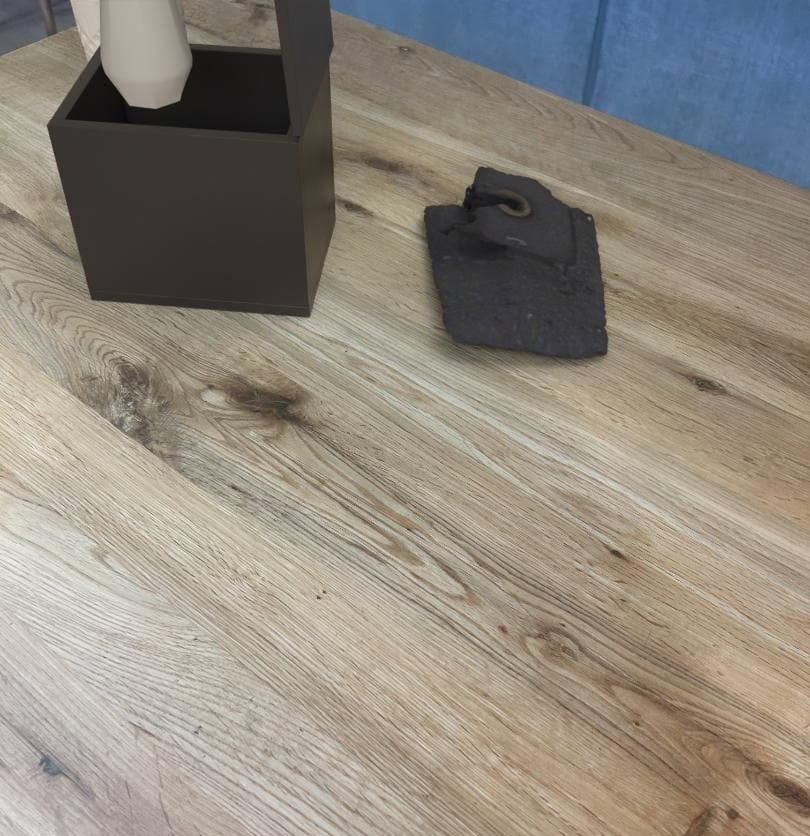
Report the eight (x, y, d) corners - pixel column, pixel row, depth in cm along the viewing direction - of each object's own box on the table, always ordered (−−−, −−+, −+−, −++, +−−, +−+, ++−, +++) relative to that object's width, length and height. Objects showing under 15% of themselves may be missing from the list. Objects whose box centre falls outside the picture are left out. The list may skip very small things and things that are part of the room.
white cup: (114, 91, 108) (94, -11, 101) (68, 66, 112) (45, -34, 104) (174, 65, 112) (159, -34, 105) (128, 42, 116) (110, -56, 108)
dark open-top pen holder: (91, 300, 86) (46, 125, 74) (137, 206, 95) (104, 37, 83) (309, 317, 85) (298, 142, 73) (335, 220, 94) (329, 51, 82)
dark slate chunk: (416, 363, 81) (418, 312, 77) (424, 206, 95) (425, 157, 92) (615, 370, 81) (626, 320, 77) (593, 211, 95) (601, 163, 92)
